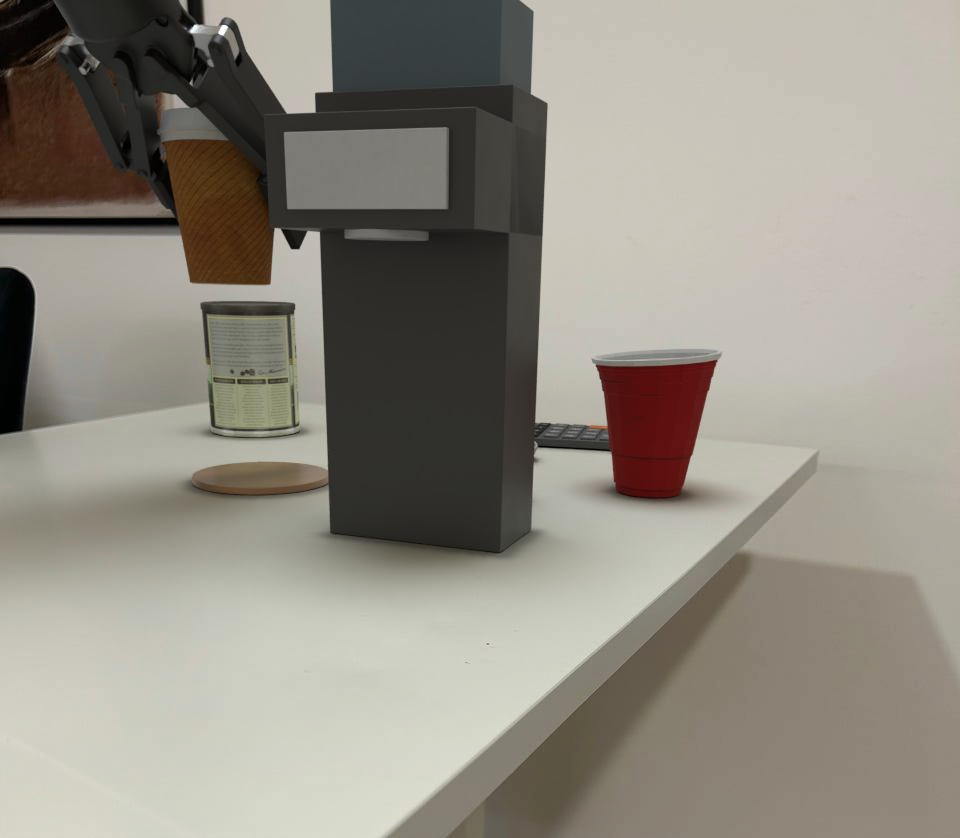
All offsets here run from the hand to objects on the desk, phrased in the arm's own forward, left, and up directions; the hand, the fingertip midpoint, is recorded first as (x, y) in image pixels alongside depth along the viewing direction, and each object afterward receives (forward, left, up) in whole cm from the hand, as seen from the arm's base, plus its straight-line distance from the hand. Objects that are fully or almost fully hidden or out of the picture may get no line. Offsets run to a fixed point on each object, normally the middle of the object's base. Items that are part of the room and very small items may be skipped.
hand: (251, 236), depth 80 cm
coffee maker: (+23, -10, -20) cm, 32 cm away
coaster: (0, 0, -20) cm, 20 cm away
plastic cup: (+30, +16, -20) cm, 39 cm away
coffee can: (-20, +21, -20) cm, 35 cm away
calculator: (+11, +37, -20) cm, 43 cm away
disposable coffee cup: (+1, -3, -4) cm, 5 cm away
